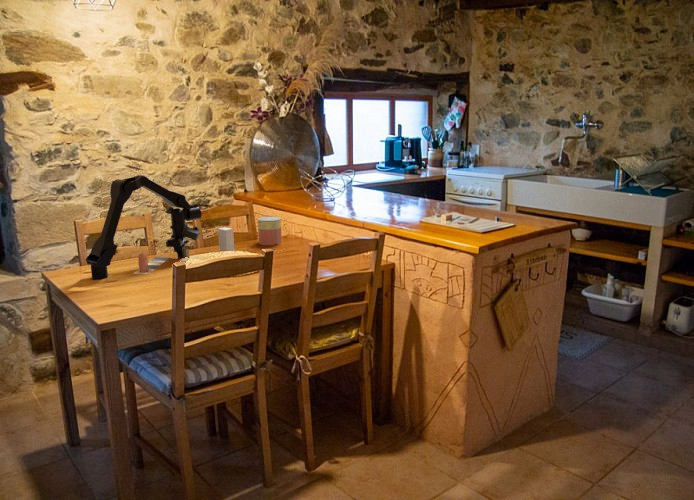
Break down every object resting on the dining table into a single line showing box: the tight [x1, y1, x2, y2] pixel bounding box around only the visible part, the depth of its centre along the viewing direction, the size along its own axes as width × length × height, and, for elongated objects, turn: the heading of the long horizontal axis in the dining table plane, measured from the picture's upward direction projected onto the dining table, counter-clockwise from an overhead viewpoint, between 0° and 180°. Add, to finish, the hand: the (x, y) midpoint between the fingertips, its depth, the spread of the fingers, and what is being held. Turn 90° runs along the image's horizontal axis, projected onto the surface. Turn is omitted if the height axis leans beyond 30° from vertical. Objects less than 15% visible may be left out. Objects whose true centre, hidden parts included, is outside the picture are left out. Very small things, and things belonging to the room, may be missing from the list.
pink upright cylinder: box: [137, 252, 149, 273], centre depth 227 cm, size 3×3×7 cm
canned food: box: [257, 216, 283, 246], centre depth 280 cm, size 11×11×12 cm
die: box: [176, 248, 190, 260], centre depth 251 cm, size 4×4×4 cm
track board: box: [132, 256, 173, 275], centre depth 238 cm, size 27×8×1 cm, turn 179°
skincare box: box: [217, 227, 235, 253], centre depth 257 cm, size 6×4×12 cm
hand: (181, 258), depth 248 cm, fingers closed
